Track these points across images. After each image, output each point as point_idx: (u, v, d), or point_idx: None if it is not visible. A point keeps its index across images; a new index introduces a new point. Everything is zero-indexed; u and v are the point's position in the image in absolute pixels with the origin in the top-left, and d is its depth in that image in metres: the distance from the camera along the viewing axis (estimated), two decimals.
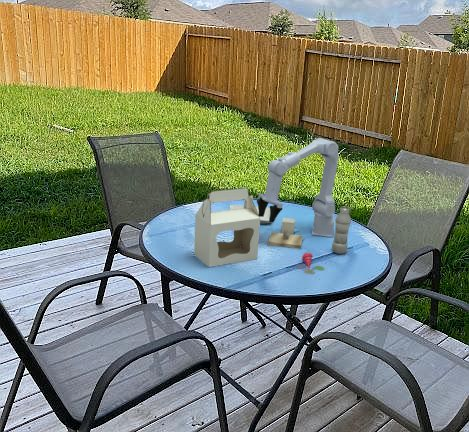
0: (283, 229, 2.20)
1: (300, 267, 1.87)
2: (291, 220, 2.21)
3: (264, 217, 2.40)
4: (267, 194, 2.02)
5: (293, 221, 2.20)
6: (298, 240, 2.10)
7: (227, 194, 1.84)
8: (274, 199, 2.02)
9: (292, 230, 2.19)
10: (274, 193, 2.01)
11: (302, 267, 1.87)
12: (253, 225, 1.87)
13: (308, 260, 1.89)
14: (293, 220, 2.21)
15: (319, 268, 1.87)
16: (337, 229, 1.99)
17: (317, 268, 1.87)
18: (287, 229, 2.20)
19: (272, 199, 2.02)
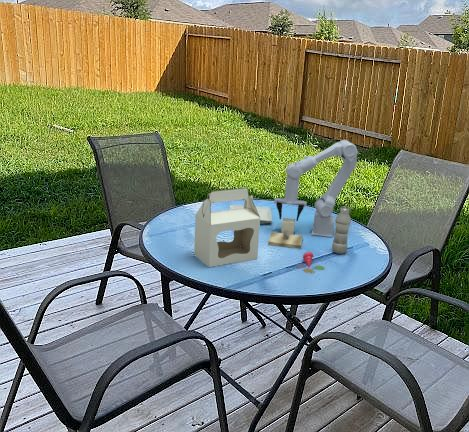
0: (283, 229, 2.20)
1: (300, 266, 1.88)
2: (291, 220, 2.21)
3: (264, 217, 2.40)
4: (292, 198, 2.15)
5: (293, 221, 2.20)
6: (298, 240, 2.10)
7: (227, 194, 1.84)
8: (296, 200, 2.17)
9: (292, 230, 2.19)
10: (297, 195, 2.16)
11: (302, 266, 1.88)
12: (253, 225, 1.87)
13: (308, 259, 1.90)
14: (293, 220, 2.21)
15: (319, 268, 1.87)
16: (337, 229, 1.99)
17: (317, 267, 1.87)
18: (287, 229, 2.20)
19: (296, 200, 2.17)
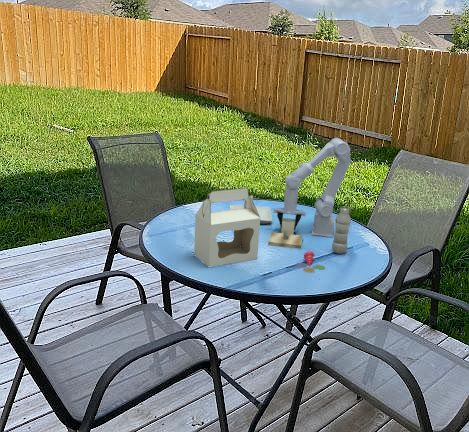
0: (283, 229, 2.20)
1: (300, 265, 1.88)
2: (291, 220, 2.21)
3: (264, 217, 2.40)
4: (291, 208, 2.16)
5: (293, 221, 2.20)
6: (298, 240, 2.10)
7: (227, 194, 1.84)
8: (296, 210, 2.19)
9: (292, 230, 2.19)
10: (296, 205, 2.18)
11: (302, 265, 1.88)
12: (253, 225, 1.87)
13: (309, 259, 1.90)
14: (293, 220, 2.21)
15: (319, 267, 1.88)
16: (337, 229, 1.99)
17: (317, 267, 1.88)
18: (287, 229, 2.20)
19: (295, 210, 2.18)
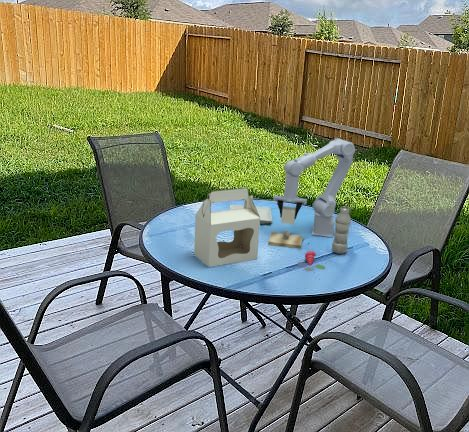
0: (283, 217, 2.13)
1: (301, 265, 1.89)
2: (291, 208, 2.14)
3: (264, 217, 2.40)
4: (291, 195, 2.09)
5: (294, 209, 2.13)
6: (298, 240, 2.10)
7: (227, 194, 1.84)
8: (296, 197, 2.12)
9: (292, 218, 2.12)
10: None
11: (303, 265, 1.89)
12: (253, 225, 1.87)
13: (310, 258, 1.91)
14: (294, 208, 2.14)
15: (320, 267, 1.88)
16: (337, 229, 1.99)
17: (318, 267, 1.88)
18: (287, 217, 2.13)
19: (296, 198, 2.11)
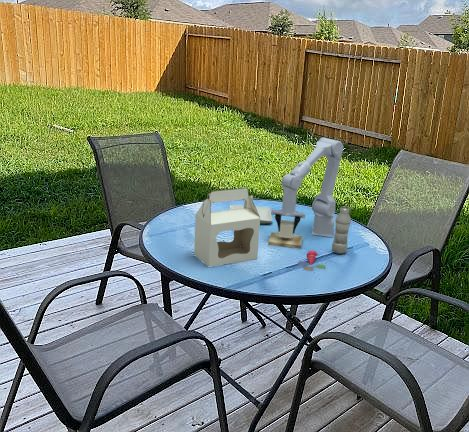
0: (281, 232, 2.08)
1: (301, 264, 1.90)
2: (290, 222, 2.09)
3: (264, 217, 2.40)
4: (289, 209, 2.04)
5: (292, 223, 2.08)
6: (298, 240, 2.10)
7: (227, 194, 1.84)
8: (294, 211, 2.07)
9: (291, 233, 2.07)
10: (295, 206, 2.05)
11: (303, 264, 1.90)
12: (253, 225, 1.87)
13: (311, 258, 1.92)
14: (292, 222, 2.09)
15: (320, 266, 1.88)
16: (337, 229, 1.99)
17: (318, 266, 1.89)
18: (285, 231, 2.08)
19: (294, 212, 2.06)
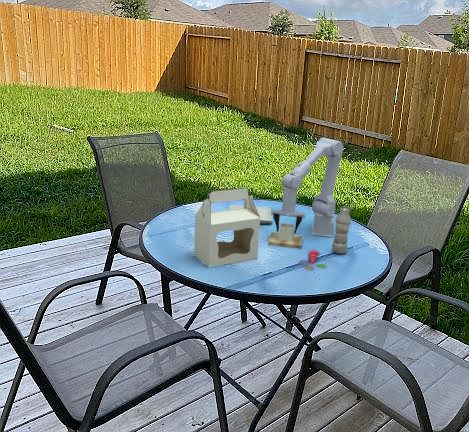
0: (281, 235, 2.09)
1: (302, 263, 1.91)
2: (289, 225, 2.10)
3: (264, 217, 2.40)
4: (289, 209, 2.04)
5: (291, 226, 2.08)
6: (298, 240, 2.10)
7: (227, 194, 1.84)
8: (294, 211, 2.07)
9: (290, 236, 2.08)
10: (295, 206, 2.05)
11: (304, 263, 1.91)
12: (253, 225, 1.87)
13: (312, 257, 1.92)
14: (291, 225, 2.10)
15: (321, 266, 1.89)
16: (337, 229, 1.99)
17: (319, 266, 1.89)
18: (285, 235, 2.08)
19: (294, 212, 2.06)
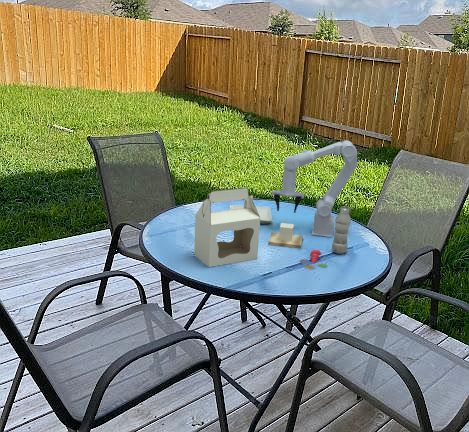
0: (281, 235, 2.09)
1: (303, 262, 1.92)
2: (289, 225, 2.10)
3: (264, 217, 2.40)
4: (289, 189, 2.16)
5: (291, 226, 2.08)
6: (298, 240, 2.10)
7: (227, 194, 1.84)
8: (294, 191, 2.19)
9: (290, 236, 2.08)
10: (294, 186, 2.18)
11: (305, 262, 1.92)
12: (253, 225, 1.87)
13: (314, 257, 1.93)
14: (291, 225, 2.10)
15: (322, 265, 1.89)
16: (337, 229, 1.99)
17: (320, 265, 1.90)
18: (285, 235, 2.08)
19: (293, 192, 2.18)
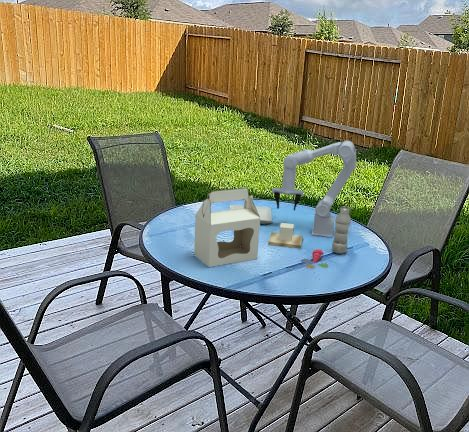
0: (281, 235, 2.09)
1: (305, 261, 1.92)
2: (289, 225, 2.10)
3: (264, 217, 2.40)
4: (289, 187, 2.20)
5: (291, 226, 2.08)
6: (298, 240, 2.10)
7: (227, 194, 1.84)
8: (294, 189, 2.22)
9: (290, 236, 2.08)
10: (294, 184, 2.21)
11: (307, 261, 1.92)
12: (253, 225, 1.87)
13: (315, 256, 1.93)
14: (291, 225, 2.10)
15: (323, 265, 1.90)
16: (337, 229, 1.99)
17: (321, 265, 1.90)
18: (285, 235, 2.08)
19: (293, 190, 2.21)
